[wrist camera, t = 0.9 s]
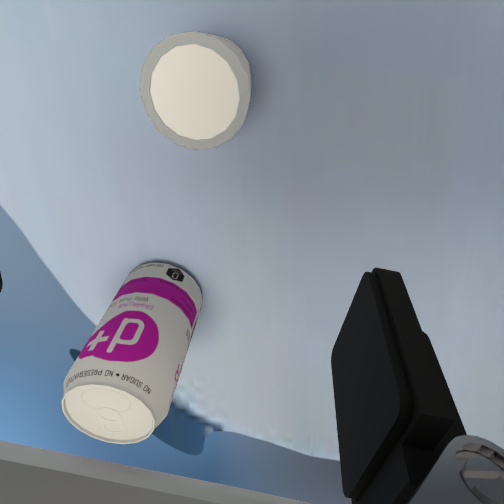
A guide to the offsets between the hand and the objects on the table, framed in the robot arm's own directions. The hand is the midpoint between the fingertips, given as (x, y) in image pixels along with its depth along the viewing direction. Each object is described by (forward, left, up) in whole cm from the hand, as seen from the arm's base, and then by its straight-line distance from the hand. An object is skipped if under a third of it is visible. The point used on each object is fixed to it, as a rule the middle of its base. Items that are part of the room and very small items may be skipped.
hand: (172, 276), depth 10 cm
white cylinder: (+3, -2, -24) cm, 25 cm away
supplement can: (+18, +14, -24) cm, 33 cm away
